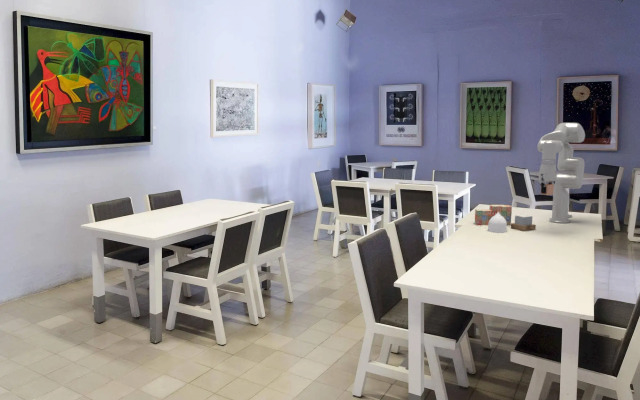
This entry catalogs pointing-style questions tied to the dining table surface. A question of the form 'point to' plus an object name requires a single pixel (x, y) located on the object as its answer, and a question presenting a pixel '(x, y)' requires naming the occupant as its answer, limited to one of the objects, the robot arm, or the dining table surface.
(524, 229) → the plinth
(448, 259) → the dining table surface
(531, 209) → the dining table surface
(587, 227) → the dining table surface
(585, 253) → the dining table surface
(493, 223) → the teardrop
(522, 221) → the grey block
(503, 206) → the stack of blocks
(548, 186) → the terracotta block
